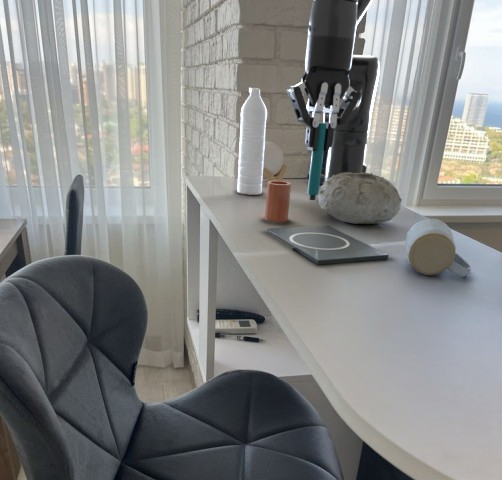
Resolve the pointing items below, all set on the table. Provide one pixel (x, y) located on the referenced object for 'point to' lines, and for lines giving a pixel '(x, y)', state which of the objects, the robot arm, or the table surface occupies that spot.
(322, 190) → the grey rounded lump
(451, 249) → the ceramic mug
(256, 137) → the water bottle
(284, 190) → the pen cup
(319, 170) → the marker
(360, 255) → the slate board
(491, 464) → the table surface
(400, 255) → the table surface
